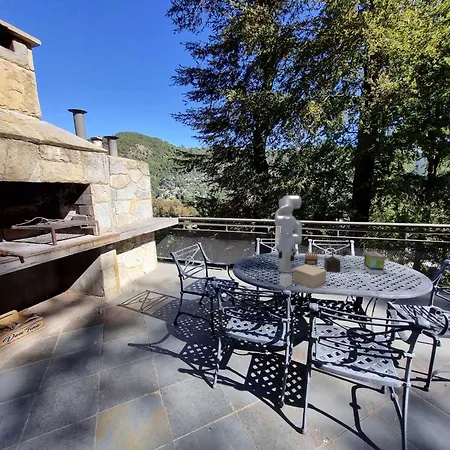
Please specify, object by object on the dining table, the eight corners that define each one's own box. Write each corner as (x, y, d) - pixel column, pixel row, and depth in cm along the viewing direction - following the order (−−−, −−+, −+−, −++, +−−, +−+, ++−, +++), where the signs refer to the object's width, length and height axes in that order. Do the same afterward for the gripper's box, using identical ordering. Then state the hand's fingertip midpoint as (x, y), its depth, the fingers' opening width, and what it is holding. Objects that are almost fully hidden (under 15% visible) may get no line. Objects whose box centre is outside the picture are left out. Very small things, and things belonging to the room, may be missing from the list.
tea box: (383, 274, 193) (385, 256, 191) (369, 274, 195) (371, 255, 193) (376, 269, 208) (377, 251, 206) (363, 268, 210) (364, 251, 208)
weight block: (279, 285, 173) (279, 275, 172) (285, 282, 177) (285, 273, 176) (285, 287, 169) (285, 277, 168) (291, 284, 174) (291, 275, 173)
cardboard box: (293, 281, 179) (293, 271, 178) (305, 276, 189) (306, 266, 188) (313, 288, 167) (313, 276, 166) (325, 282, 177) (326, 271, 176)
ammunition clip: (304, 264, 221) (305, 251, 219) (304, 264, 222) (304, 251, 221) (317, 265, 219) (318, 251, 218) (316, 264, 221) (317, 251, 220)
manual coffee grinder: (326, 272, 200) (327, 250, 197) (323, 268, 211) (324, 247, 208) (347, 273, 198) (348, 251, 195) (343, 268, 208) (344, 247, 206)
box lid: (292, 269, 178) (292, 268, 178) (305, 265, 188) (306, 264, 188) (313, 276, 165) (313, 275, 165) (326, 271, 176) (326, 270, 176)
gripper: (273, 234, 173) (272, 258, 175) (294, 237, 159) (293, 263, 161) (279, 233, 177) (279, 256, 179) (301, 236, 164) (300, 261, 166)
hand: (286, 259), depth 170 cm, fingers open, 9 cm apart
